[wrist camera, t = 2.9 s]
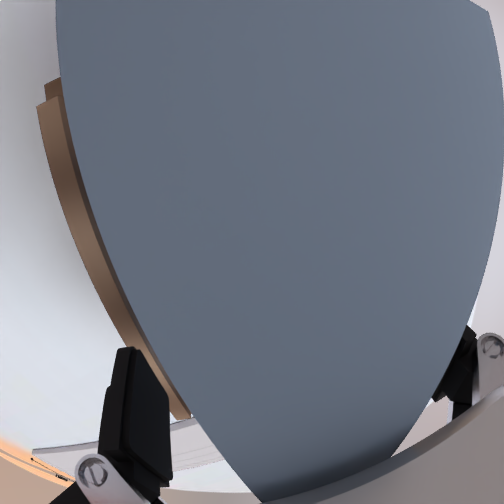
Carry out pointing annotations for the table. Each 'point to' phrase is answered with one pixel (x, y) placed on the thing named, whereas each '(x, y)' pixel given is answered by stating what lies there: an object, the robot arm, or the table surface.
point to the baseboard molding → (182, 450)
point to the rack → (94, 235)
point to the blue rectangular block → (292, 208)
